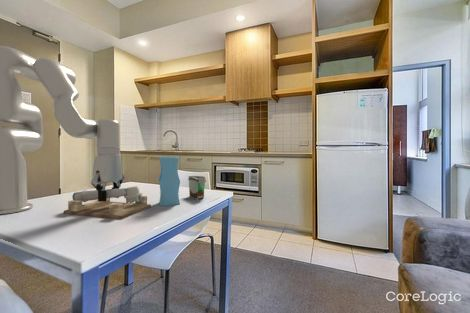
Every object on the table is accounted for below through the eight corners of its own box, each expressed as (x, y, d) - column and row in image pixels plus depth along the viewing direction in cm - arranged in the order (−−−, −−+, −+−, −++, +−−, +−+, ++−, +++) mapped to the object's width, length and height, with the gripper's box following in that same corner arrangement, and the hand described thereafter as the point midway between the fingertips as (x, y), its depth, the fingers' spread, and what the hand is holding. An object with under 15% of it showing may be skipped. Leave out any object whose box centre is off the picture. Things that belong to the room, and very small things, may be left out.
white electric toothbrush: (80, 190, 87) (142, 182, 87) (82, 206, 88) (145, 198, 88) (70, 193, 82) (136, 184, 82) (72, 210, 82) (139, 202, 82)
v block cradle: (63, 213, 80) (63, 201, 80) (100, 203, 96) (100, 192, 96) (121, 219, 74) (121, 205, 74) (151, 207, 90) (150, 196, 90)
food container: (210, 198, 105) (210, 177, 105) (198, 200, 101) (198, 178, 101) (199, 194, 115) (199, 175, 115) (188, 195, 112) (188, 176, 111)
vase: (158, 201, 99) (158, 157, 98) (176, 200, 102) (176, 156, 101) (160, 206, 91) (160, 157, 91) (180, 204, 95) (179, 157, 94)
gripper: (117, 151, 94) (117, 194, 94) (79, 152, 77) (80, 204, 78) (132, 152, 92) (133, 195, 92) (97, 152, 75) (98, 205, 76)
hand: (109, 198), depth 85 cm, fingers closed on white electric toothbrush, 5 cm apart
